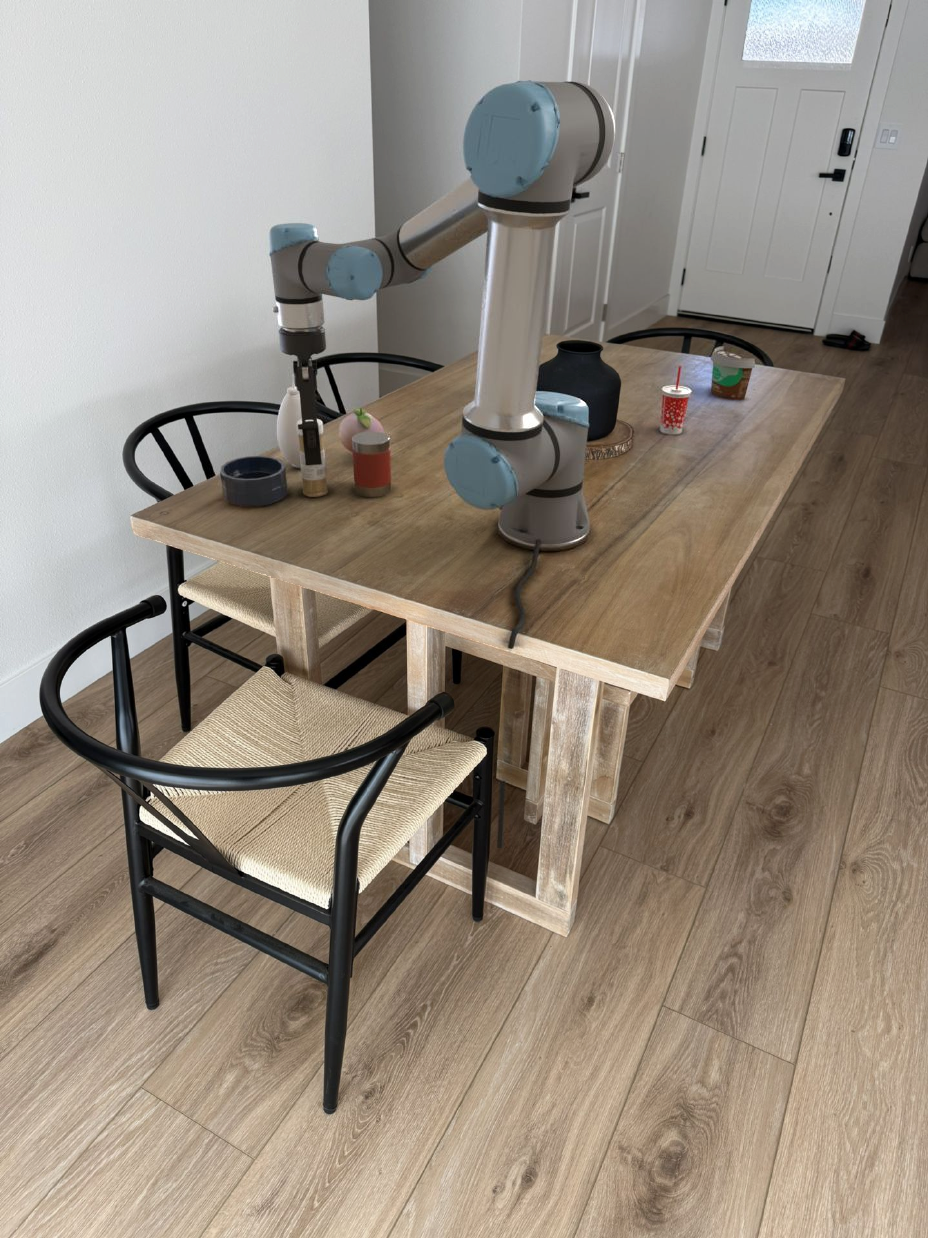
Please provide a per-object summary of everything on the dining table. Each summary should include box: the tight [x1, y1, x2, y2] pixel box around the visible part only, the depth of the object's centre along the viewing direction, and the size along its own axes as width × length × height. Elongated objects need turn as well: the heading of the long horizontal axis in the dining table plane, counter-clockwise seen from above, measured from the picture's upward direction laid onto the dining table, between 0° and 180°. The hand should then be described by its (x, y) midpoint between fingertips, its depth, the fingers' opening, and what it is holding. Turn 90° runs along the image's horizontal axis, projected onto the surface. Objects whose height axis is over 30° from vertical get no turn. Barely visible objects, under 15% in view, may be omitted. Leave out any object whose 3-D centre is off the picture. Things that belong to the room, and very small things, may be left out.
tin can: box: [351, 431, 392, 498], centre depth 159 cm, size 7×7×10 cm
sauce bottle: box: [276, 373, 302, 469], centre depth 166 cm, size 8×8×18 cm
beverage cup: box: [659, 365, 692, 435], centre depth 187 cm, size 6×6×14 cm
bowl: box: [219, 455, 289, 508], centre depth 158 cm, size 11×11×6 cm
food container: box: [710, 345, 756, 401], centre depth 210 cm, size 12×6×10 cm, turn 25°
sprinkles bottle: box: [296, 418, 328, 498], centre depth 157 cm, size 5×5×14 cm
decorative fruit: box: [338, 407, 385, 453], centre depth 173 cm, size 9×8×10 cm
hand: (313, 450), depth 156 cm, fingers open, 13 cm apart
